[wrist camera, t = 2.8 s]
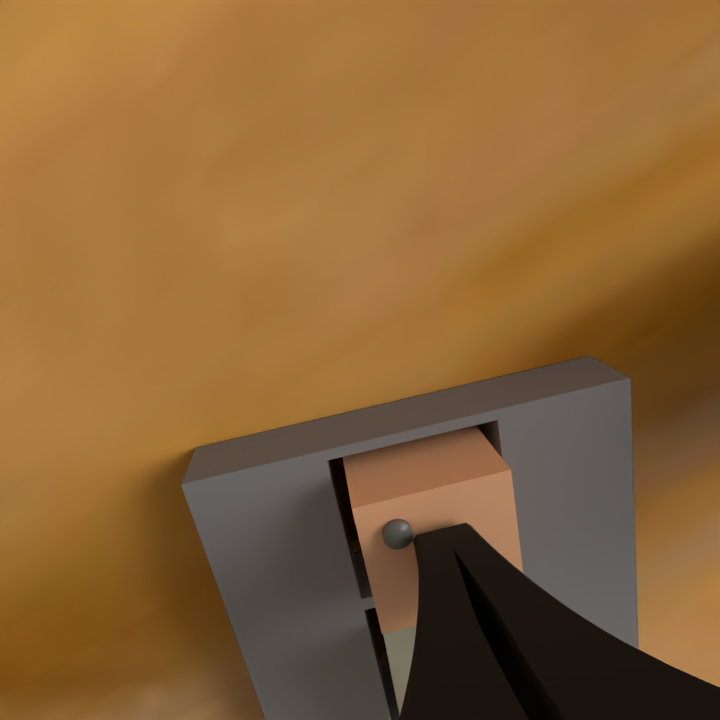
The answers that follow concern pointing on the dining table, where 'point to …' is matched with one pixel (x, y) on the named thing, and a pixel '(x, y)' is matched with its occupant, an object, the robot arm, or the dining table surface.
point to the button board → (347, 569)
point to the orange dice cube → (426, 509)
